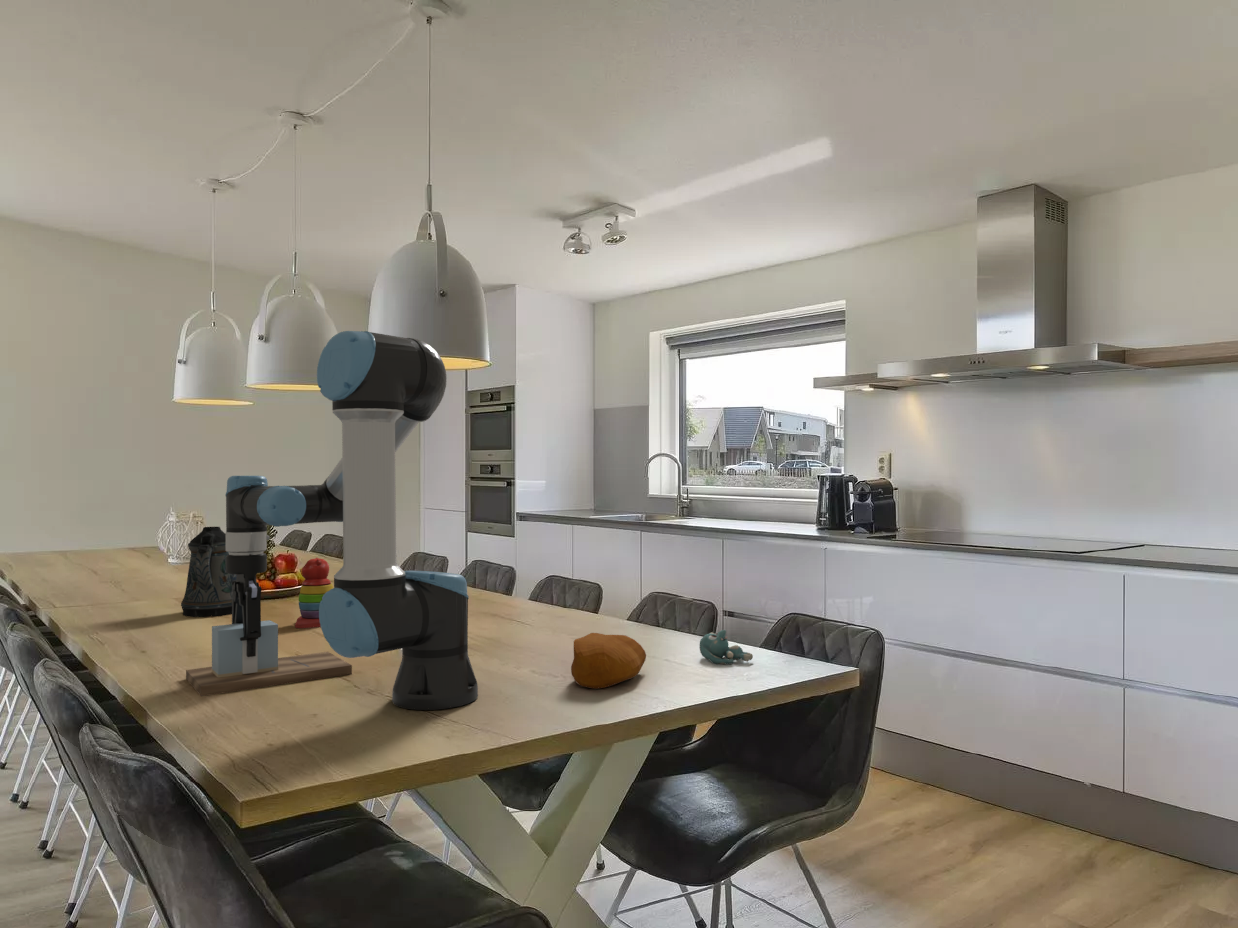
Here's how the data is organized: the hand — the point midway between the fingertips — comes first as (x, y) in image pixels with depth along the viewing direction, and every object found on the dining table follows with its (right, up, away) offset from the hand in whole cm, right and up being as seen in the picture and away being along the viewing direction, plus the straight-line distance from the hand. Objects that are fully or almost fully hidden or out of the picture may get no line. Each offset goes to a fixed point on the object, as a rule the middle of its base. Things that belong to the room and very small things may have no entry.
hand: (245, 669), depth 170 cm
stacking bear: (-7, -3, +60) cm, 61 cm away
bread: (+73, -2, -1) cm, 73 cm away
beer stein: (-43, -3, +79) cm, 90 cm away
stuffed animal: (+97, -2, +15) cm, 98 cm away
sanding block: (0, 0, 0) cm, 0 cm away
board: (+4, -2, +3) cm, 5 cm away
